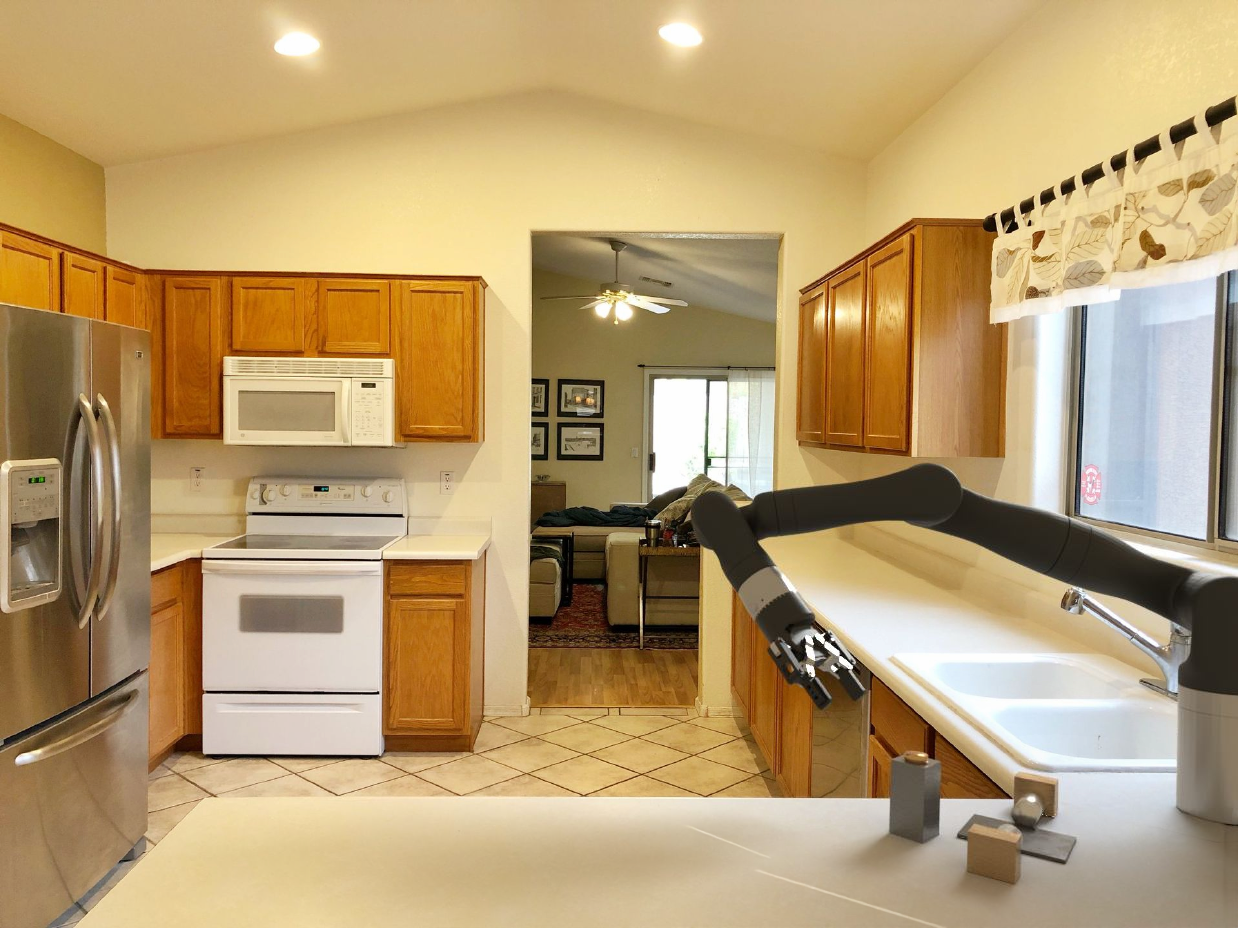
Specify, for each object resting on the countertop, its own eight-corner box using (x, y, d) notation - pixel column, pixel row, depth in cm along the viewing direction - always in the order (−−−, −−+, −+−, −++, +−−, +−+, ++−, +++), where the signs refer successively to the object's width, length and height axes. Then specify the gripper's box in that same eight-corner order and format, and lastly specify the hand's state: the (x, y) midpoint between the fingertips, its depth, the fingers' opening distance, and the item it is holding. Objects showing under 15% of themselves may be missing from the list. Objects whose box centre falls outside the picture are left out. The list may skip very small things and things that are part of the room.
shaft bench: (991, 797, 122) (991, 765, 122) (1086, 818, 115) (1087, 784, 115) (934, 862, 98) (935, 823, 99) (1050, 893, 92) (1051, 851, 92)
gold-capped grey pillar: (889, 832, 107) (891, 752, 108) (905, 824, 110) (907, 746, 111) (922, 843, 104) (925, 761, 104) (939, 834, 107) (941, 754, 108)
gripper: (762, 591, 117) (834, 692, 108) (819, 586, 127) (889, 678, 118) (729, 625, 120) (797, 725, 112) (787, 618, 131) (853, 710, 122)
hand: (844, 701), depth 115 cm, fingers open, 8 cm apart
